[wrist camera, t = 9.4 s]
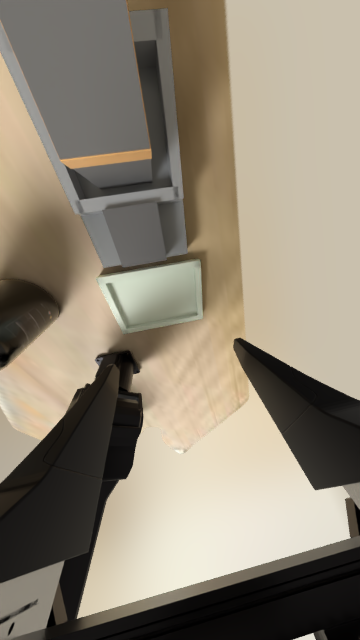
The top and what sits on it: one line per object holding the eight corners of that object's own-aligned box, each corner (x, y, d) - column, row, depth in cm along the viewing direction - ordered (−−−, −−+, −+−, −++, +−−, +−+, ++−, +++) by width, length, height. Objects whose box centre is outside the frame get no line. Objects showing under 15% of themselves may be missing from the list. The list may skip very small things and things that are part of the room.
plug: (153, 183, 12) (151, 149, 7) (100, 190, 11) (59, 160, 7) (137, 88, 9) (114, -77, 4) (68, 96, 9) (-42, -72, 4)
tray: (200, 314, 23) (202, 318, 22) (125, 329, 22) (123, 334, 21) (198, 258, 18) (200, 260, 17) (99, 275, 17) (95, 278, 16)
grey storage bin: (184, 251, 17) (191, 256, 14) (108, 264, 16) (97, 272, 13) (166, 66, 10) (171, -15, 7) (32, 79, 9) (-34, -1, 6)
